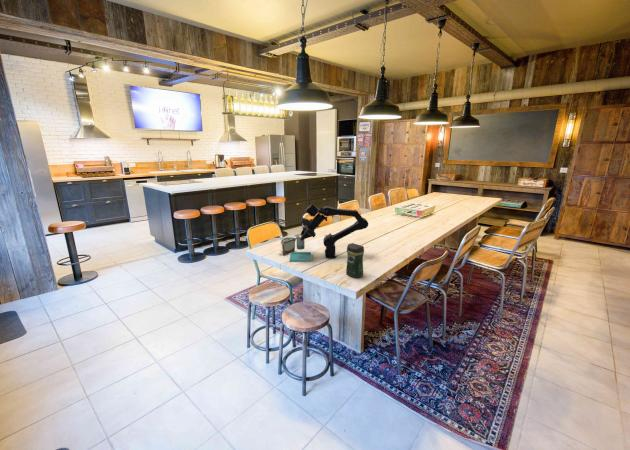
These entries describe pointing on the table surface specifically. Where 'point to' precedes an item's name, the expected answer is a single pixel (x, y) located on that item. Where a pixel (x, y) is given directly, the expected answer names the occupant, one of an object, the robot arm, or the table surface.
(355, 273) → the coffee jar
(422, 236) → the table surface
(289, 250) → the food container
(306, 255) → the teal tray
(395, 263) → the table surface
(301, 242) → the grey tin
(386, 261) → the table surface
